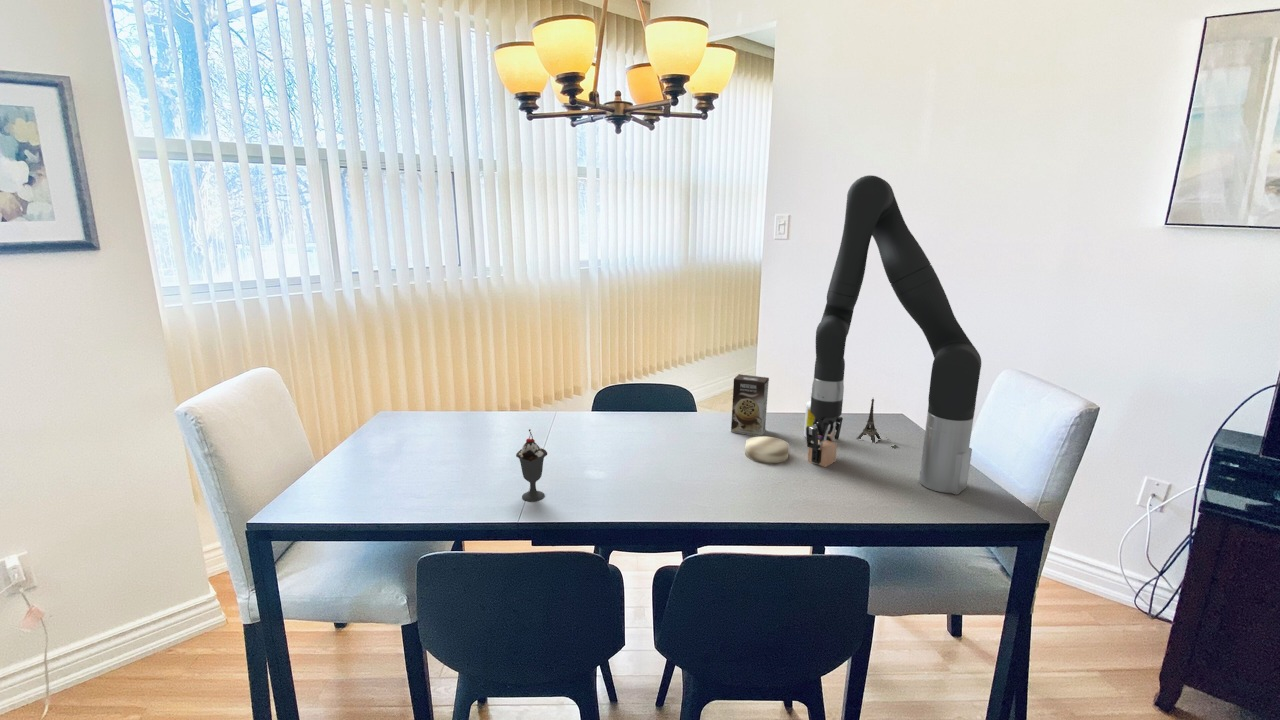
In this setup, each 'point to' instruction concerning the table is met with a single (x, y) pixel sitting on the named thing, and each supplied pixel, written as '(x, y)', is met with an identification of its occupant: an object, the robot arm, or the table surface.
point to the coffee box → (749, 404)
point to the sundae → (532, 467)
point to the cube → (825, 453)
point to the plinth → (766, 449)
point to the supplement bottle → (808, 417)
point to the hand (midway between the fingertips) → (821, 459)
